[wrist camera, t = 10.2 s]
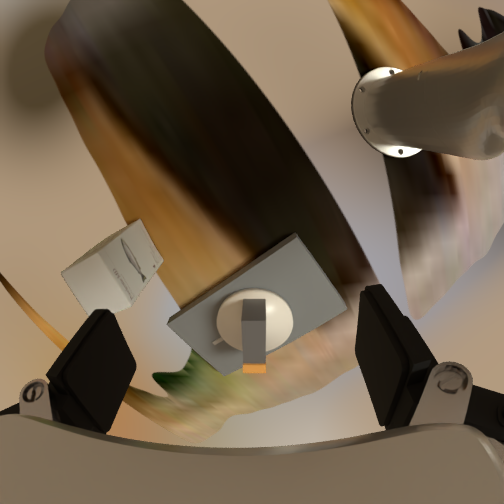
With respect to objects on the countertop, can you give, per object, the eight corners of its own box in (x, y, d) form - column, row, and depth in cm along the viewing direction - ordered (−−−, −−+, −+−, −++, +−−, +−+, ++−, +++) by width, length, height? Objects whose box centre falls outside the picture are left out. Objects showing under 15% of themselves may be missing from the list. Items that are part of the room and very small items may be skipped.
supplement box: (165, 260, 40) (133, 309, 29) (128, 277, 42) (91, 324, 30) (141, 216, 38) (97, 251, 26) (105, 236, 39) (58, 274, 27)
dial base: (295, 232, 38) (297, 237, 36) (345, 302, 42) (348, 310, 40) (170, 317, 44) (166, 325, 42) (226, 369, 48) (225, 377, 46)
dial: (214, 287, 39) (207, 315, 33) (294, 287, 39) (300, 315, 33) (220, 347, 43) (215, 376, 37) (290, 347, 43) (293, 377, 37)
